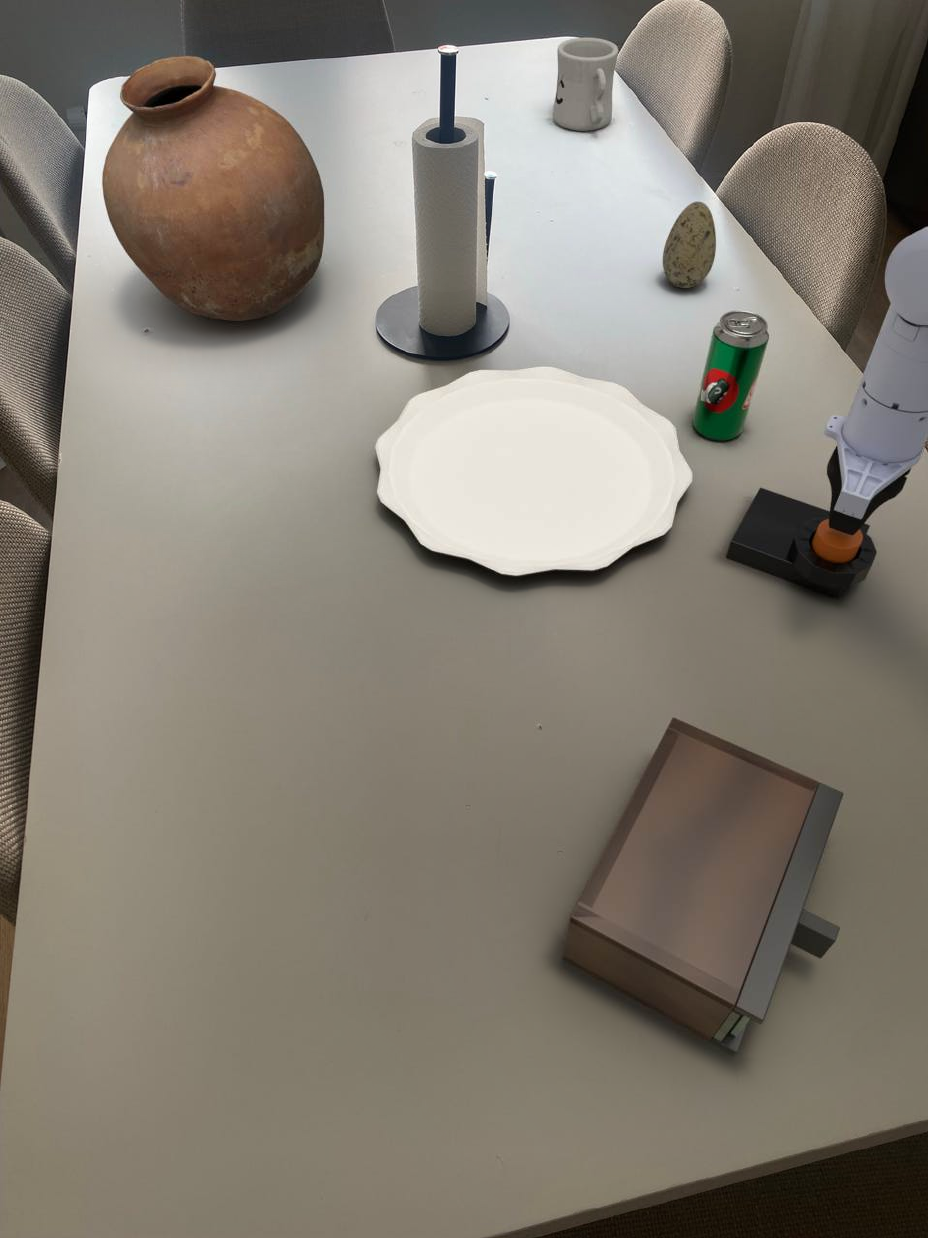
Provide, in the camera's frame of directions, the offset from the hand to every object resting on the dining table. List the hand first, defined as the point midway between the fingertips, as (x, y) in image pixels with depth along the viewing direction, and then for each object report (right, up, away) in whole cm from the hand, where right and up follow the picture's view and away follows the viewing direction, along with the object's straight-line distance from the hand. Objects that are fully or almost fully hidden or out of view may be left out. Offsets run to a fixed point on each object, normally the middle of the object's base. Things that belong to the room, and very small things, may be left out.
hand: (842, 526), depth 75 cm
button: (0, -2, +2) cm, 2 cm away
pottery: (-58, +30, +34) cm, 74 cm away
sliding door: (-12, -30, -19) cm, 37 cm away
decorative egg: (-5, +33, +35) cm, 48 cm away
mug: (-13, +68, +65) cm, 95 cm away
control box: (-2, -1, +7) cm, 7 cm away
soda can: (-5, +12, +18) cm, 22 cm away
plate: (-25, +6, +13) cm, 29 cm away
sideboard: (-17, -26, -14) cm, 34 cm away
